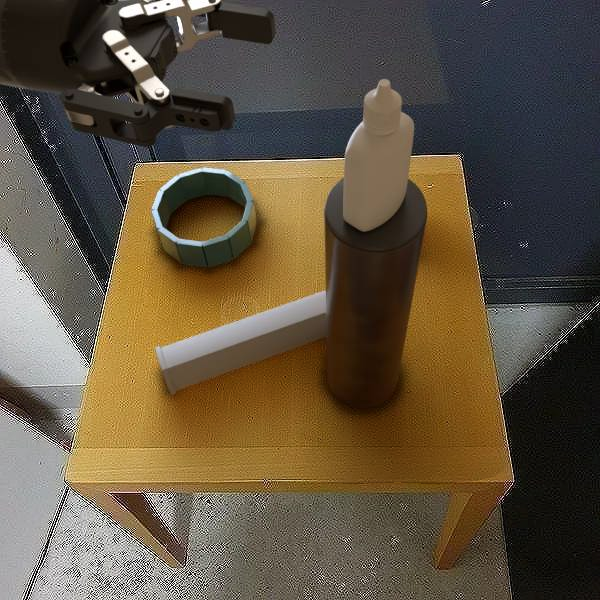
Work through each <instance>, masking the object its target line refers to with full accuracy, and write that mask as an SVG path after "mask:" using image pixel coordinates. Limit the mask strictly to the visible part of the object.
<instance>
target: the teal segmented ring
mask: <svg viewBox="0 0 600 600" xmlns="http://www.w3.org/2000/svg"><path fill="white" fill-rule="evenodd" d="M251 193H252V192H251V190H250V188H249V186H248V183H247V182H246V181H245V180H243V179H242V178H241V177H239V176H237V175H236V174H234V173H232V172H231V171H229V170H227V169H221V168H214V167H213V168H212V167H203V166H202V167H199V168H195V169H191V170H188V171H185V172H181V173H178V174H176V175H174V177H173V178H171V179H169V180H168V182H166V183H165V184H164V185H162V187H160V188H159V189H158V191H157V193H156V196H155V198H154V201H153V203H152V206H151V208H150V209H151V216H152V218H153V222H154V224H155V228H156V231H157V234H158V237H159V240H160V243H161V245H162V248H163V250H164V252H165V253H167V254H168V255H169V256H171V257H172V258H173V259H174V260H176V261H177V262H179V263H180V264H181V265H182V264H183V265H184V266H192V267H199V268H212V267H215V266H218V265H222V264H225V263H228V262H232V261H233V260H235V259H236V258H237V257H238V256H240V255H241V253H242V252H244V251H245V250H246V249H247V248H248V247H249V246H250V245H251V244H252V243H253V239H254V236H255V232H256V228H257V224H258V221H257V220H258V219H257V213H256V208H255V201H254V198H253V196H252V195H253V194H251ZM205 195H211V196H220V197H227V198H230V199H231V200H233V201H234V202H236V203H238V204H239V205H240V206H242V207H243V208H244V212H243V215H242V219H241V220H240V221H239V222H238V223H237V224H236V225H235V226H233V228H231V230H229V231H228V232H227V233H226V234H223V235H220V236H217V237H213V238H210V239H207V240H204V241H199V240H193V239H192V240H191V239H184V238H179V237H177V236H176V235H175V234H173V233H172V232H171V231H170V230H169V229H167V226H168V223H169V220H170V218H171V215H172V213H173V212H175V211H176V210H177V209H178V208H180V207H181V206H182V205H183V204H184V203H185V202H187V201H188V200H192V199H195V198H199V197H203V196H205Z"/></svg>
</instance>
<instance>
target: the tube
mask: <svg viewBox="0 0 600 600" xmlns="http://www.w3.org/2000/svg"><path fill="white" fill-rule="evenodd" d="M324 338H327V331H326V289H325V290H322V291H319V292H316V293H313V294H310V295H307V296H305V297H302V298H298V299H296V300H293V301H291V302H287V303H285V304H282V305H279V306H275V307H272V308H269V309H267V310H265V311H261V312H259V313H256V314H253V315H250V316H247V317H244V318H241V319H239V320H236V321H233V322H230V323H228V324H227V323H226V324H224V325H221V326H218V327H216V328H213V329H210V330H207V331H204V332H202V333H199V334H195V335H192V336H189V337H187V338H184V339H181V340H178V341H176V342H173V343H170V344H167V345H165V346H161V345H157V346H155V347H154V350H155V354H156V357H157V360H158V364H159V368H160V370H161V373H162V376H163V379H164V380H165V381H164V382H165V383H166V387H167V389H168V391H169V393H170V395H171V396H174V395H175V394H177V392H178V391H180V390H183V389H186V388H188V387H191V386H194V385H197V384H199V383H202V382H205V381H208V380H210V379H213V378H216V377H219V376H222V375H224V374H227V373H230V372H232V371H236V370H238V369H241V368H244V367H247V366H249V365H252V364H255V363H257V362H258V363H259V362H260V361H263V360H266V359H269V358H271V357H274V356H277V355H280V354H282V353H286V352H288V351H290V350H293V349H297V348H298V347H301V346H305V345H307V344H310V343H313V342H315V341H318V340H321V339H324Z"/></svg>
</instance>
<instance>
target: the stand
mask: <svg viewBox="0 0 600 600" xmlns="http://www.w3.org/2000/svg"><path fill="white" fill-rule="evenodd" d="M415 183H416V182H413V181H412V180H411V179H409V178H408V183H407V190H406V194H405V197H404V200H403V202H402V204H401V206H400V207H399V209H398V210H397V212H396V213H395V214H394V215H393V216H392V217H391V218H390V219H389V220H388V221H386V222H385V223H383V224H382V225H380V226H378V227H377V228H375V229H372V230H370V231H365V232H363V231H360V230H358V229H357V228H355V227H354V226H352V225H350V224H349V223H347V222H346V221H345V220H344V217H343V196H344V177H342V178H341V179H340V180H339V181H337V182H336V183H335V184H334V185H333V186H332V188H331V189H330V190H329V192H328V194H327V196H326V200H325V203H324V208H323V224H324V225H323V226H324V228H323V229H324V230H323V231H324V274H325V275H324V279H325V280H324V281H325V290H326V331H327V337H326V372H327V373H326V375H327V376H326V379H327V383H328V386H329V389H330V390H331V392H332V393H333V395H334V397H336V398H337V399H338V400H339V401H340V402H342V403H343V404H345V405H347V406H348V407H349V406H350V407H352V408H357V409H371V408H374V407H377V406H380V405H382V404H384V403H385V402H387V400H389V399H390V398H391V397H392V395H393V394H394V393H395V391H396V389H397V387H398V383H399V376H400V370H401V365H402V359H403V354H404V349H405V342H406V336H407V333H408V328H409V327H408V326H409V322H410V315H411V310H412V305H413V299H414V293H415V288H416V282H417V277H418V271H419V265H420V261H421V255H422V249H423V244H424V239H425V233H426V227H427V221H428V205H427V201H426V200H427V199H426V198H425V195H424V193H423V192H422V190H421V189H420V187H418V185H417V183H416V184H415Z"/></svg>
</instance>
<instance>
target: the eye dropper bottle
mask: <svg viewBox="0 0 600 600" xmlns="http://www.w3.org/2000/svg"><path fill="white" fill-rule="evenodd" d="M402 106H403V98H402V96H401V95H400V93H398V92H397V91H396V90H394V89H392V87H391V81H390V80H389V79H387V78H381V79H380V80H379V81H378V84H377V87H376V88H374V89H372V90H370V91H369V92H367V93H366V95H365V96H364V98H363V111H362V112H363V113H362V115H363V117H362V121H361V122H360V123H359V124H358V125H357V126H356V128H355V129H354V131H353V132H352V134H351V136H350V138H349V140H348V142H347V144H346V145H347V146H346V148H345V151H344V159H343V160H344V162H343V178H344V196H343V217H344V220H345V221H346V222H347V223H349V224H350V225H352V226H354V227H355V228H357V229H358V230H360V231H363V232H365V231H370V230H372V229H375V228H377V227H378V226H380V225H382V224H383V223H385V222H386V221H388V220H389V219H390V218H391V217H392V216H393V215H394V214H395V213H396V212H397V210H398V209H399V207H400V206H401V204H402V202H403V200H404V197H405V194H406V190H407V183H408V179H409V174H410V169H411V159H412V151H413V144H414V143H413V142H414V135H415V124H414V123H415V122H414V120H413V119H412V117H411V116H409V115H408V114H406V113H405V112H403V111H402Z"/></svg>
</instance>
